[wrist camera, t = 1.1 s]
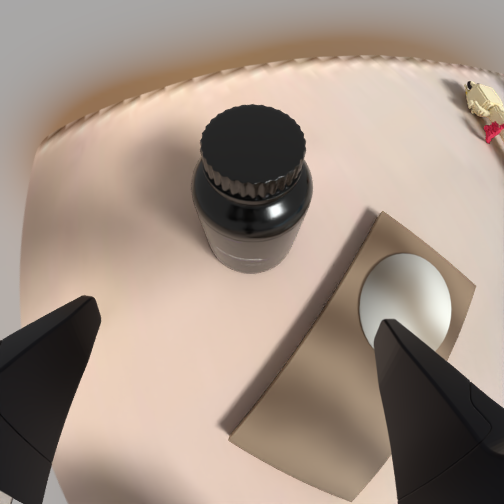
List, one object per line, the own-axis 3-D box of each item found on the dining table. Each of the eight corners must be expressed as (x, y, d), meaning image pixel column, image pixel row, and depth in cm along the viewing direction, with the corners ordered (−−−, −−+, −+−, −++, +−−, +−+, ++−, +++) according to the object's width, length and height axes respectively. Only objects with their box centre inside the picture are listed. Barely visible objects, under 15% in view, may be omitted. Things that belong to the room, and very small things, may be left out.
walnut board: (347, 496, 17) (352, 503, 15) (229, 435, 19) (227, 441, 17) (468, 288, 22) (477, 285, 21) (377, 216, 24) (383, 209, 23)
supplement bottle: (224, 288, 22) (195, 230, 11) (199, 212, 24) (162, 112, 13) (307, 258, 23) (354, 178, 11) (275, 187, 25) (289, 79, 13)
